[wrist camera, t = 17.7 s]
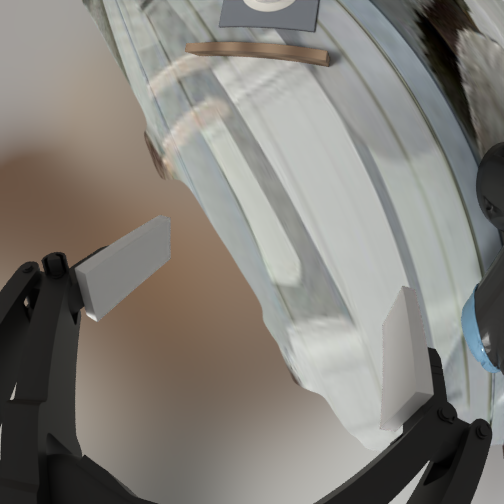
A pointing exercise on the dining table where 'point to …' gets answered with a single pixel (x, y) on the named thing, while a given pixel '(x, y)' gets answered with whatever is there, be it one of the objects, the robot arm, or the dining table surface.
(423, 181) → the dining table surface
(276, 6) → the slate mat
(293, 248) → the dining table surface
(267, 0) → the white cup
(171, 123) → the dining table surface
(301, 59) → the low wall
